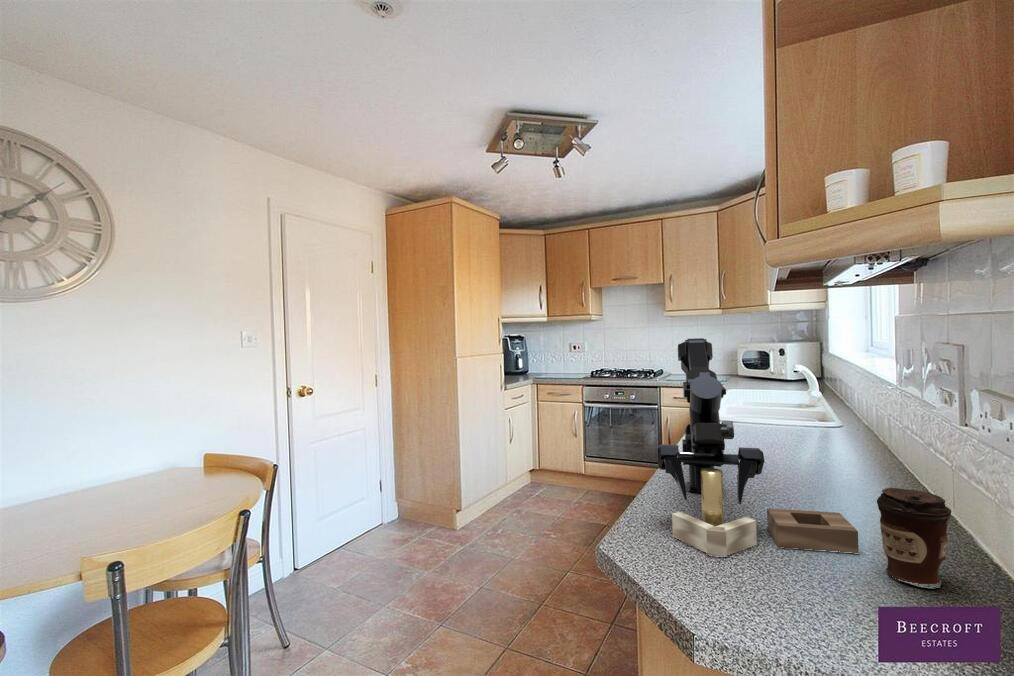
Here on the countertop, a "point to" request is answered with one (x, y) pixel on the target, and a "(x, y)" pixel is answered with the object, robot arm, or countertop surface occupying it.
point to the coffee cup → (913, 534)
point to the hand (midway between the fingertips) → (712, 501)
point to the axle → (712, 496)
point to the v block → (715, 534)
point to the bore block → (812, 530)
